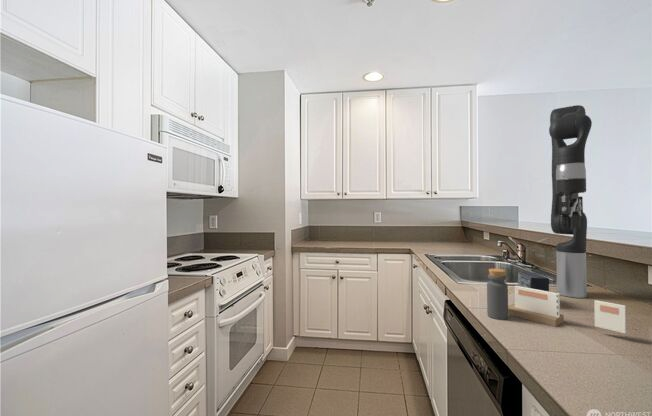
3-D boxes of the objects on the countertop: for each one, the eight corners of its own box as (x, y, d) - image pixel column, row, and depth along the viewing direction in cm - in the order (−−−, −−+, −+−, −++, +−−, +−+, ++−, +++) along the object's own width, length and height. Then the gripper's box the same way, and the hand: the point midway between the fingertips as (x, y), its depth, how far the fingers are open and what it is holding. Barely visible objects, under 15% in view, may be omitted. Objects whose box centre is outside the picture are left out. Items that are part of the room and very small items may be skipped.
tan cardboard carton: (504, 313, 99) (503, 286, 99) (513, 309, 103) (513, 283, 103) (555, 326, 87) (554, 295, 87) (563, 321, 91) (563, 291, 91)
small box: (551, 307, 104) (550, 277, 104) (530, 306, 105) (529, 277, 105) (536, 299, 114) (535, 271, 114) (517, 298, 116) (516, 271, 116)
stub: (594, 326, 82) (594, 300, 82) (595, 325, 83) (595, 300, 83) (624, 333, 77) (624, 306, 78) (625, 332, 78) (625, 305, 78)
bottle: (508, 321, 92) (507, 272, 92) (486, 317, 95) (486, 270, 95) (508, 315, 97) (507, 269, 97) (488, 312, 100) (487, 267, 100)
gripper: (564, 180, 104) (564, 227, 104) (548, 178, 96) (549, 229, 95) (592, 178, 98) (593, 228, 98) (578, 176, 89) (579, 230, 89)
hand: (571, 228), depth 96 cm, fingers open, 8 cm apart
